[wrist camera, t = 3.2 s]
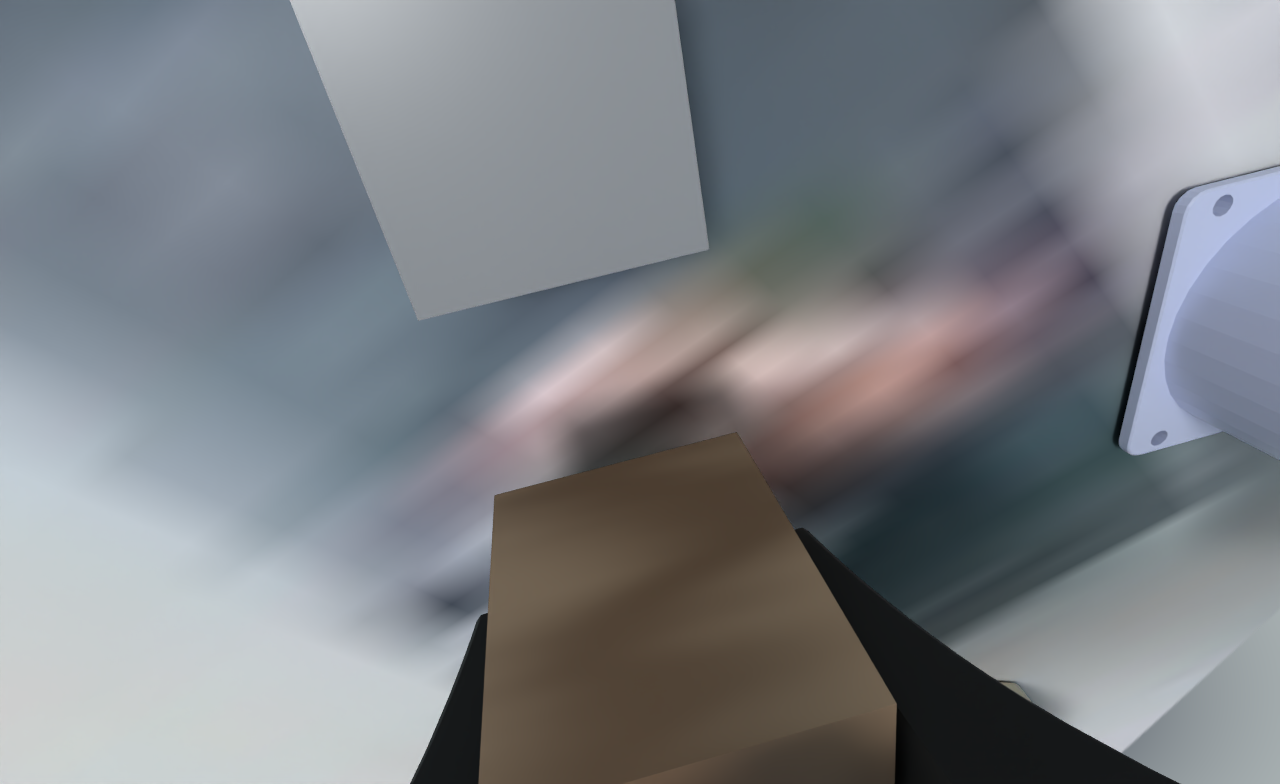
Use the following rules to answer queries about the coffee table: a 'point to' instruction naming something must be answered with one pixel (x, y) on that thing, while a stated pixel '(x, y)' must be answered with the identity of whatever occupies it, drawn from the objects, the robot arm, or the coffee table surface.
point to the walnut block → (671, 636)
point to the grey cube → (513, 138)
